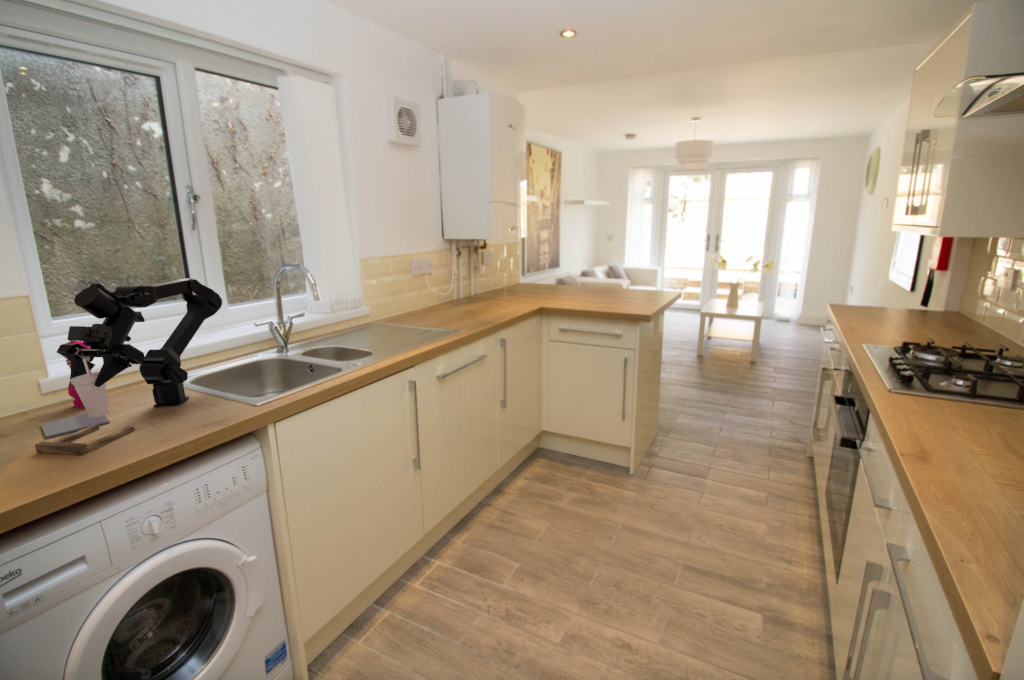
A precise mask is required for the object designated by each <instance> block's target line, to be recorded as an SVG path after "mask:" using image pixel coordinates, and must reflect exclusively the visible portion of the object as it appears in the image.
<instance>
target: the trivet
mask: <svg viewBox="0 0 1024 680" xmlns="http://www.w3.org/2000/svg"><path fill="white" fill-rule="evenodd" d="M107 424H110V419H108V418H107V415H106V414H105V415H103V416H99V417H89V415H88V413H87V412H85V413H82V414H81V413H80V414H77V415H73V416H68V417H64V418H59V419H55V420H51V421H47V422H42V423H40V427H41V429H42V431H43V434H44V437H45V438H46V440H48V439H52V438H56V437H59V435H60V436H63V434H64V435H68V434H72V433H74V432H75V431H76V432H77V431H79V430H82V429H84V428H86V427H89V426H91V425H99V427H101V426H105V425H107ZM71 432H72V433H71ZM67 433H68V434H67ZM55 436H56V437H55ZM47 438H48V439H47Z"/></svg>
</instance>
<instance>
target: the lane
mask: <svg viewBox="0 0 1024 680" xmlns="http://www.w3.org/2000/svg"><path fill="white" fill-rule="evenodd" d="M99 429H100V426H99V425H91V426H89V427H86V428H84V429H82V430H79V431H76V432H72V433H69V434H66V436H65V435H64V436H63V437H60V438H58V439H56V440H53V441H41V442H38V443H35V444H34V448H35V451H36V453H37V452H39V453H38V454H49V453H63V454H62V455H69V454H77V455H76V456H83V455H84V453H85V454H87V453H89V452H91V451H94V450H95V448H96V449H98V448H100V447H101V445H102V446H104V445H106V444H108V443H110V442H112V440H113V441H115V440H117V439H118V437H119V438H121V437H123V436H125V435H127V434H129V432H130V433H132V432H134V431H135V427H134V425H133V426H132V425H128V426H125V427H123V428H121V429H119V430H116V431H114V432H112V433H110V434H108V435H105V436H103V437H100V438H99V439H97V440H95V441H92V442H90V443H88V444H87V443H83V442H82V443H81V442H72V441H74V440H76V438H77V439H79V438H81V437H83V436H86V435H88V434H90V432H91V433H93V432H95V431H98V430H99ZM133 430H134V431H133ZM92 431H93V432H92ZM131 431H132V432H131ZM120 436H121V437H120ZM116 438H117V439H116ZM73 439H74V440H73ZM114 439H115V440H114ZM71 440H72V441H71ZM69 441H70V442H69ZM66 442H68V443H66ZM103 444H104V445H103ZM99 446H100V447H99ZM97 447H98V448H97ZM93 449H94V450H93ZM90 450H91V451H90ZM88 451H89V452H88ZM86 452H87V453H86ZM82 454H83V455H82Z"/></svg>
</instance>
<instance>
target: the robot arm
mask: <svg viewBox="0 0 1024 680" xmlns="http://www.w3.org/2000/svg"><path fill="white" fill-rule="evenodd" d="M179 295H181V296H182V299H183V301H185V302H186V313H185V314H184V316H183V317H182V319H181V320H180V322H179V323H178V325H177V326H176V327H175V329H174V330H173V331H172V333H171V334H170V335H169V337H168V338H167V340H166V341H165V343H164V344H163V346H162V347H161V348H159V349H149V350H147V352H146V354H145V352H143V351H141V350H140V349H138V348H137V347H135V346H133V345H132V344H129V343H125V342H131V340H132V337H131V336H129V334H130V332H131V331H132V328H133V327H134V325H135V323H145V321H146V320H145V317H144V316H143V314H142V311H135V310H134V309H133V308H148V307H149V306H153V304H156V303H157V302H158V300H159V301H160V300H161V299H164V298H170V297H174V296H179ZM73 302H74V304H75V305H76V306H77V307H79V308H81V309H82V310H83V311H85V312H87V313H88V314H90V315H91V316H93V317H95V318H96V319H98V320H99V319H101V320H102V319H104V320H103V321H102V323H93V324H92V325H91V326H84V325H83V326H82V325H81V326H80V325H79V326H78V325H75V326H74V325H73V326H72V325H70V326H69V329H68V333H67V334H68V335H67V340H68V341H69V340H77V341H82V342H83V343H82V344H84V345H85V346H89V348H90V349H87V348H85V347H83V346H81V345H80V344H73V343H68V342H66V343H62V344H60V345H59V347H58V349H57V350H56V353H57V354H59V355H61V356H62V357H63V358H65V357H66V358H65V359H67V358H68V359H69V360H70V362H71V369H70V377H69V383H70V385H71V386H74V385H72V384H71V381H70V380H71V379H72V378H74V377H77V376H80V375H84V374H87V372H86V369H85V365H84V362H83V359H84V358H86V361H87V365H88V368H89V371H92V370H93V368H94V367H96V364H95V363H94V362H93V360H94V359H95V358H102V361H103V362H102V363H103V364H102V365H101V368H100V370H99V371H98V372H99V374H98V376H97V379H96V381H95V384H94V385H95V386H96V387H100V386H102V385H103V384H104V383H105V384H106V383H107V382H108V381H110V380H112V379H113V378H114V377H116V376H117V375H118V374H120V373H122V372H123V371H125V370H127V369H128V368H131V367H132V365H139V372H140V375H141V376H142V379H144V381H145V382H146V384H147V385H152V389H151V391H152V396H153V401H154V403H155V404H153V405H152V406H153V408H160V407H161V408H164V407H165V408H166V407H178V406H180V405H181V404H183V403H184V402H186V401H187V400H188V399H190V396H189V395H188V396H186V391H185V386H184V383H185V381H187V380H188V377H189V376H188V375H189V373H188V371H186V370H185V369H183V368H182V367H181V366H182V362H181V361H182V360H181V355H183V353H184V351H185V349H186V348H187V346H188V345H189V344H190V342H191V341H192V339H193V337H194V336H195V335H196V333H197V331H199V329H200V328H201V326H202V324H203V323H204V322H205V320H207V319H209V318H210V317H212V316H214V315H215V314H217V312H219V310H220V309H221V307H222V305H223V299H222V297H221V296H220V294H218V293H217V292H216V291H215V290H214V289H212V288H210V287H208V286H206V285H204V284H202V283H201V282H200V281H199V280H197V279H195V278H193V277H191V278H190V277H189V278H179V279H176V280H169V281H165V282H160V283H155V284H148V285H147V284H146V285H143V284H142V285H134V284H133V285H130V284H129V285H126V284H124V285H122V284H121V285H119V286H116V287H115V290H114V291H109V290H108V289H107V288H106V287H105V286H104V285H102V284H101V283H99V282H98V283H97V282H95V283H91V284H90V285H89V286H88V287H86V288H84V289H82V290H80V292H79V293H76V295H75V297H74V300H73Z"/></svg>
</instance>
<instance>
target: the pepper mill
mask: <svg viewBox="0 0 1024 680" xmlns="http://www.w3.org/2000/svg"><path fill="white" fill-rule="evenodd" d="M83 342H84V341H77V340H68V342H67V343H73V344H80V345H81V346H83V347H85V348H87V349H90V347H89V346H85V345H84V344H82V343H83ZM64 358H65V359H66V360H65V362H66V365H67V366H68V367H69V369H70V370H71V362H70V360H69V359H68V358H66V357H64ZM90 373H92V370H90ZM67 392H68V393H67V394H68V395H69V397H71V398H73V401H72V403H73V407H74V408H76V409H81V408H82V409H83V408H84V409H85V407H84V405H83V403H82V401H81V399H80V397H79V395H78V393H77V391H76V389H75V387H74V386H71V385H70V382H68V386H67Z"/></svg>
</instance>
